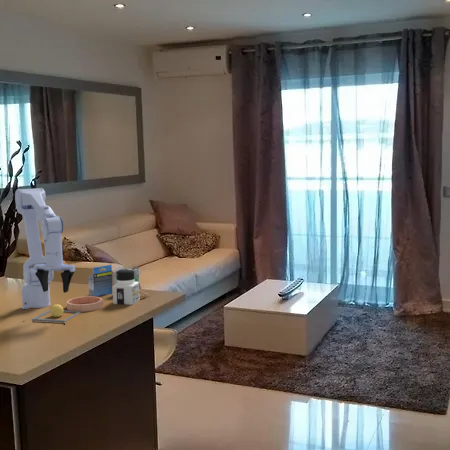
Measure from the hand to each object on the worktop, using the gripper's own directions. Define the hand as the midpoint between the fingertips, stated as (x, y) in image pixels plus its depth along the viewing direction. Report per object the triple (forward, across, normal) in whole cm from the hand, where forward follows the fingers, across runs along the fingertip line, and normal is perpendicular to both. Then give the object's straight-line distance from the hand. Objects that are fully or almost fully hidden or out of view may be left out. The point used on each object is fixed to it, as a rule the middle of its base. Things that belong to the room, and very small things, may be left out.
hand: (55, 291), depth 209 cm
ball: (+9, 0, 0) cm, 9 cm away
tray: (+9, 0, 0) cm, 9 cm away
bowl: (+9, +4, +13) cm, 16 cm away
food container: (+10, +12, +38) cm, 41 cm away
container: (+10, +16, +23) cm, 30 cm away
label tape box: (+10, +1, +33) cm, 34 cm away
